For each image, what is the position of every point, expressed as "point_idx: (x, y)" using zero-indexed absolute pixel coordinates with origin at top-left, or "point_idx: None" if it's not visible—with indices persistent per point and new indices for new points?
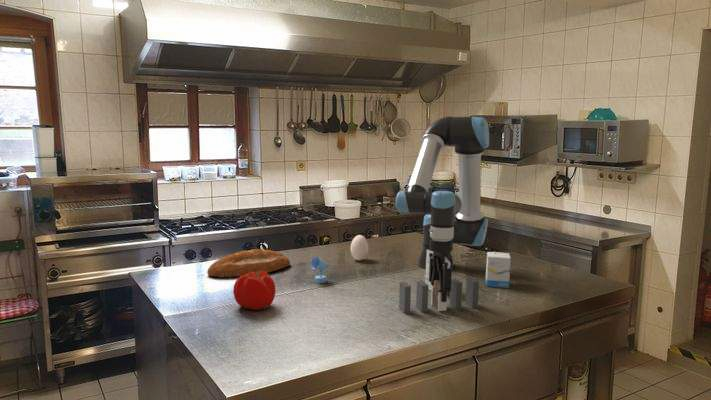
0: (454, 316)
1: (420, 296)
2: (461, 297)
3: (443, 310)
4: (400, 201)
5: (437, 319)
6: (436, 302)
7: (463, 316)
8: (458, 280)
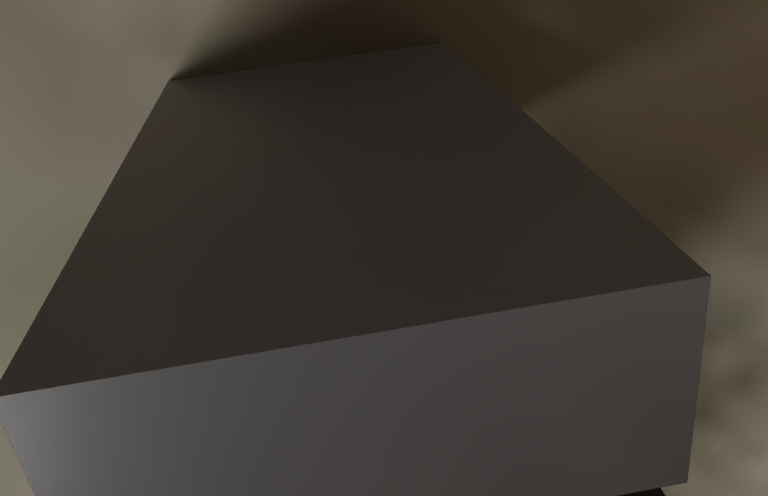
0: (705, 239)
1: None
2: (506, 106)
3: None
4: None
5: (726, 448)
6: None
7: (747, 111)
8: (326, 354)
